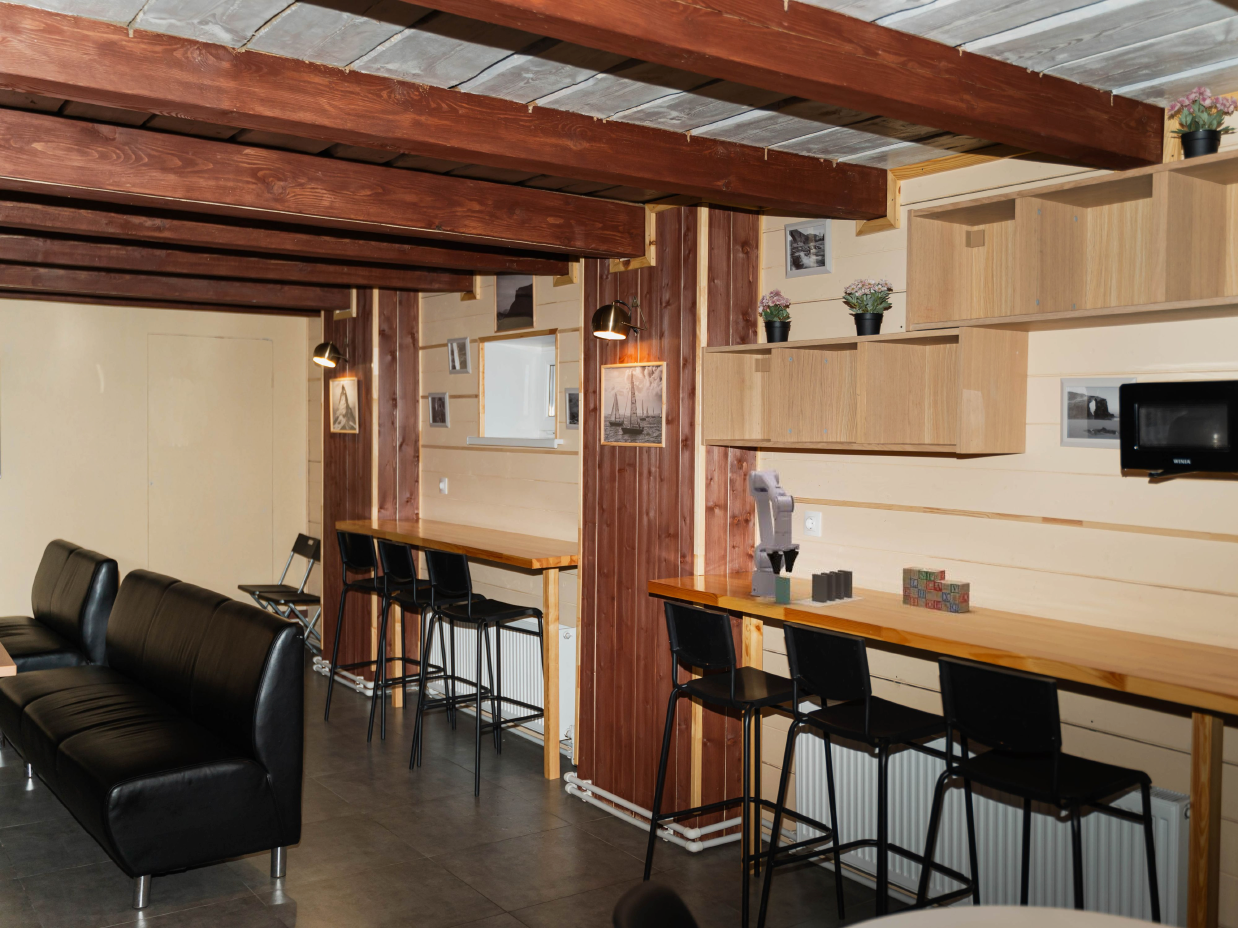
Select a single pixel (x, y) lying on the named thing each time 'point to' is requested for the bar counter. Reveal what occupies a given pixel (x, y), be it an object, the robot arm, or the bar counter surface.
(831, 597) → the domino
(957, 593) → the stack of blocks
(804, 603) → the mat
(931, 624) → the bar counter surface
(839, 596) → the domino
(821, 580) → the domino
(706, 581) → the bar counter surface
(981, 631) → the bar counter surface
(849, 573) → the domino
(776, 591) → the domino
